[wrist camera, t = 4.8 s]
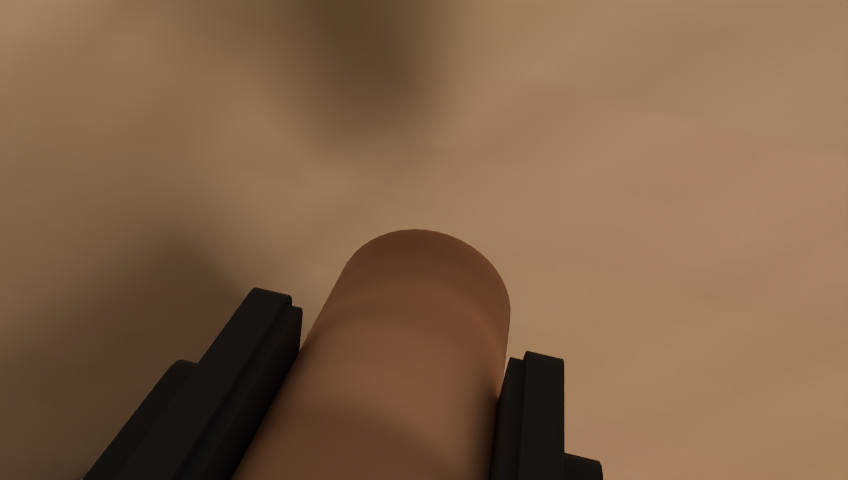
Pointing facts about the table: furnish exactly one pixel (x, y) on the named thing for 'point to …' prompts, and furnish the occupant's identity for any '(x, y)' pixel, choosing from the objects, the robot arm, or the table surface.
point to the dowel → (393, 370)
